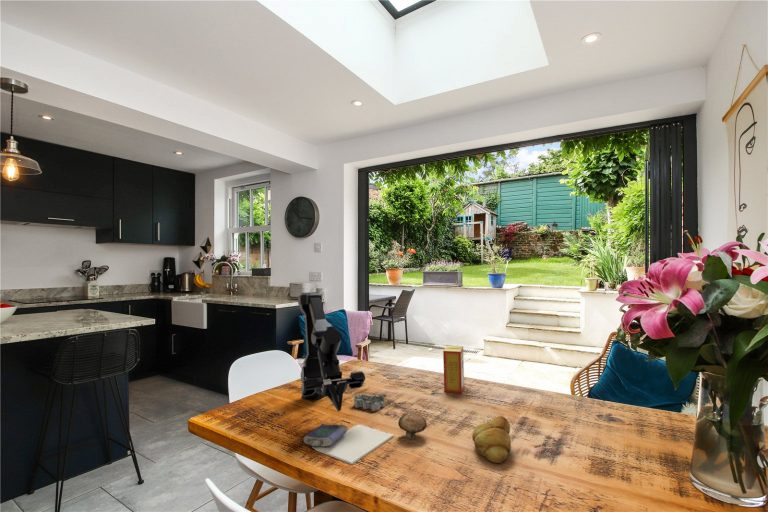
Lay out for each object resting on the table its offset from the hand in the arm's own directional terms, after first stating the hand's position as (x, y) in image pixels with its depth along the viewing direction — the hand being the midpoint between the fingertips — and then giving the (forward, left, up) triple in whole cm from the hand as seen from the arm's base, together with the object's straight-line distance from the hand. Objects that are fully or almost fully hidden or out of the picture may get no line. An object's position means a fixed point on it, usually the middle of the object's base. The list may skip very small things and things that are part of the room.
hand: (339, 410), depth 107 cm
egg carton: (-8, +23, -8) cm, 26 cm away
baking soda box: (+9, +56, -8) cm, 57 cm away
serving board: (+6, 0, -8) cm, 10 cm away
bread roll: (+39, +15, -8) cm, 43 cm away
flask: (-3, 0, -6) cm, 7 cm away
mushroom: (+17, +12, -8) cm, 22 cm away
